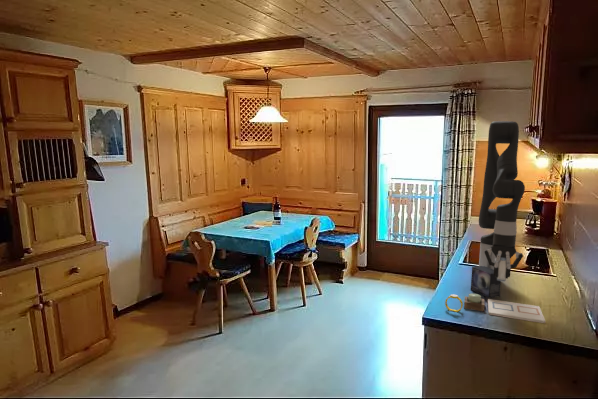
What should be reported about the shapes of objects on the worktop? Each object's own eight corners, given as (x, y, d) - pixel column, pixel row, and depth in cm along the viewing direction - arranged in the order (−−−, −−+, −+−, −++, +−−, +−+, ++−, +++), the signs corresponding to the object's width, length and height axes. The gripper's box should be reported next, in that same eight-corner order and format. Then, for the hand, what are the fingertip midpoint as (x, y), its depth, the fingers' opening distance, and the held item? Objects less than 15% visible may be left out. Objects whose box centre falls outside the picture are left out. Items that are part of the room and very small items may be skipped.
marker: (496, 278, 162) (498, 255, 161) (505, 279, 160) (507, 256, 160) (496, 280, 159) (498, 257, 158) (506, 281, 158) (507, 258, 157)
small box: (469, 290, 181) (471, 266, 180) (481, 288, 183) (482, 265, 182) (488, 298, 171) (490, 273, 170) (500, 296, 173) (502, 271, 172)
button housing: (464, 302, 165) (464, 296, 165) (483, 305, 162) (484, 299, 162) (463, 308, 159) (464, 301, 158) (484, 311, 156) (484, 304, 156)
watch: (444, 311, 156) (444, 295, 156) (446, 308, 158) (446, 293, 158) (461, 313, 153) (461, 297, 153) (463, 311, 155) (462, 295, 155)
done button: (468, 300, 163) (468, 292, 163) (480, 302, 161) (481, 294, 161) (467, 303, 159) (468, 296, 159) (480, 305, 157) (481, 298, 157)
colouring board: (487, 300, 168) (487, 298, 168) (539, 308, 161) (539, 306, 161) (488, 314, 153) (488, 312, 153) (545, 323, 146) (545, 320, 146)
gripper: (525, 233, 159) (521, 277, 160) (484, 229, 164) (481, 272, 166) (527, 236, 152) (523, 282, 153) (484, 232, 157) (481, 277, 159)
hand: (501, 277), depth 160 cm, fingers closed on marker, 3 cm apart
